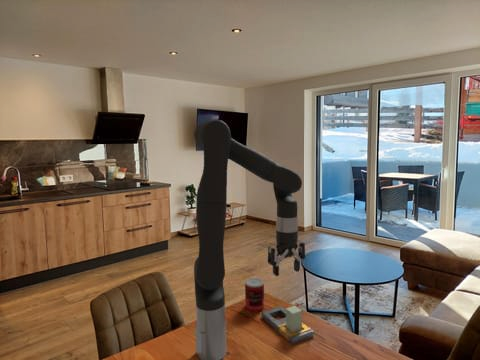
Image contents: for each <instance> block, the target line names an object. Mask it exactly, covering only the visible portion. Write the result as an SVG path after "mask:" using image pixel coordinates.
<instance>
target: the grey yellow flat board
mask: <svg viewBox="0 0 480 360" xmlns="http://www.w3.org/2000/svg"><path fill="white" fill-rule="evenodd" d="M279 316H282V317H283V318H280V319H276V318H275V317H279ZM261 318H262V319H264V320H265V321H266V322H267V323H268V324H269V325H270V326H272V328H273V329H275V330H276V331H277V332H278V333H279V334H280V335H281V336H282V337H283V338H285V339H286V340H287V341H288V342H289V343H291V345H294V344H297V343H300V342H302V341H305V340H309V339H311V338H314V330H313V329H312V328H311V327H308V325H306V324H305V323H303V322H302V330H301V331H298V332H295V333H291V332H290V331H289V330H287V329H286V308H285V307H284V308H283V306H278V307H277V306H276V307H275V308H271V309H268V310H265V311H262V312H261Z"/></svg>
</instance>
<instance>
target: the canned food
mask: <svg viewBox="0 0 480 360" xmlns="http://www.w3.org/2000/svg"><path fill="white" fill-rule="evenodd" d="M244 290H245V291H244V292H245V293H244V295H245V307H246V309H247V310H248V311H250V312H253V313H254V312H261V311H263V310H264V307H265V282H264V280H263V279H261V278H258V277H252V278H248V279H246V280H245V281H244Z"/></svg>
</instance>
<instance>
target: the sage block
mask: <svg viewBox="0 0 480 360" xmlns="http://www.w3.org/2000/svg"><path fill="white" fill-rule="evenodd" d="M285 310H286V329H287V330H289V331H290V332H291V333H295V332H298V331H301V330H302V323H303V311H302V310H301V309H300V308H299V307H297V306H296V305H292V306H289V307H287V308H285Z"/></svg>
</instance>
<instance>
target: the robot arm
mask: <svg viewBox="0 0 480 360" xmlns="http://www.w3.org/2000/svg"><path fill="white" fill-rule="evenodd" d="M193 138H194V140H195V143H196V145H197V146H198V147H200V148H201V149H202V150H203V169H202V175H201V178H200V180H199V184H198V187H197V191H196V201H195V202H196V203H195V206H196V208H195V213H196V214H195V215H196V218H195V219H196V229H197V236H198V242H199V243H198V244H199V245H198V246H199V247H198V248H199V249H198V257H197V258H196V259H195V262H194V265H193V276H194V296H195V308H196V309H195V310H196V311H195V312H196V325H195V326H194V331H195V333H194V334H195V353H196V355H197V356H198V358H199V360H222V359H224V358H225V357H226V355H227V328H226V327H227V325H226V299H225V298H226V297H225V290H224V279H225V277H226V269H225V268H226V267H225V257H224V239H225V231H226V219H227V205H228V204H227V200H228V199H227V197H228V196H227V195H228V194H227V191H228V190H227V189H228V163H229V160H230V161H232V162H234V163H236V164H238V165H239V166H241V167H242V168H244V169H245V170H246V171H248V172H250V173H251V174H253V175H255V176H257V177H258V178H260V179H262V180H263V181H266V182H269V183H272V185H273V186H272V188H273V192H274V197H275V201H276V222H275V241H276V245H275V246H274V247H272V246H268V248H267V250H268V251H267V264H269V265H271V266H272V274H273V275H274V276H276V277H280V263H281V262H283V261H284V259H288V258H293V259H294V260H293V270H294V271H295V272H296V273H297V272H299V271H300V270H301V261H302V260H304V259H305V258H306V248H305V247H306V244H305V243H304V242H303V241H300V240H298V239H299V221H298V202H297V200H296V199H295V198H293V194H295V193H297V192H299V191H300V190H301V188H302V185H303V180H302V177H301V176H300V175H299V174H298V173H297V172H295V171H294V170H292V169H290V168H287V167H285V166H283V165H281V164H279V163H277V162H276V161H275V160H273V159H271V158H270V157H269V156H267V155H265V154H263V153H262V152H259V151H258V150H255V149H253V148H251V147H248V146H247V145H244V144H243V143H240V142H238V141H237V140H235V139H233V137H232V134H231V129H230V127H229V126H228V124H227V123H226V122H224V121H223V120H220V119H211V120H205V121H201V122H200V123H199V124H198V125H197V126H196V127H195V129H194V133H193ZM297 250H298V251H297Z"/></svg>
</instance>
